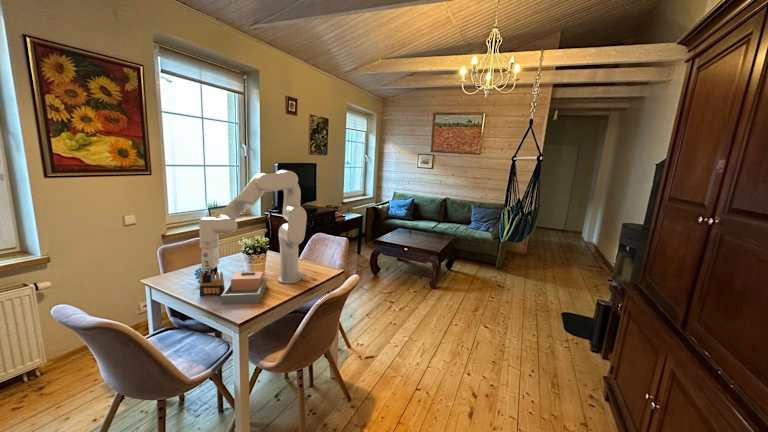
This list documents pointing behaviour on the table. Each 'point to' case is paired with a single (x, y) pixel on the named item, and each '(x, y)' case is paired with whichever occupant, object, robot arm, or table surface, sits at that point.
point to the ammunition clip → (212, 285)
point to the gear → (199, 274)
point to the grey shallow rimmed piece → (242, 295)
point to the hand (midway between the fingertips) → (210, 278)
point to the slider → (246, 281)
